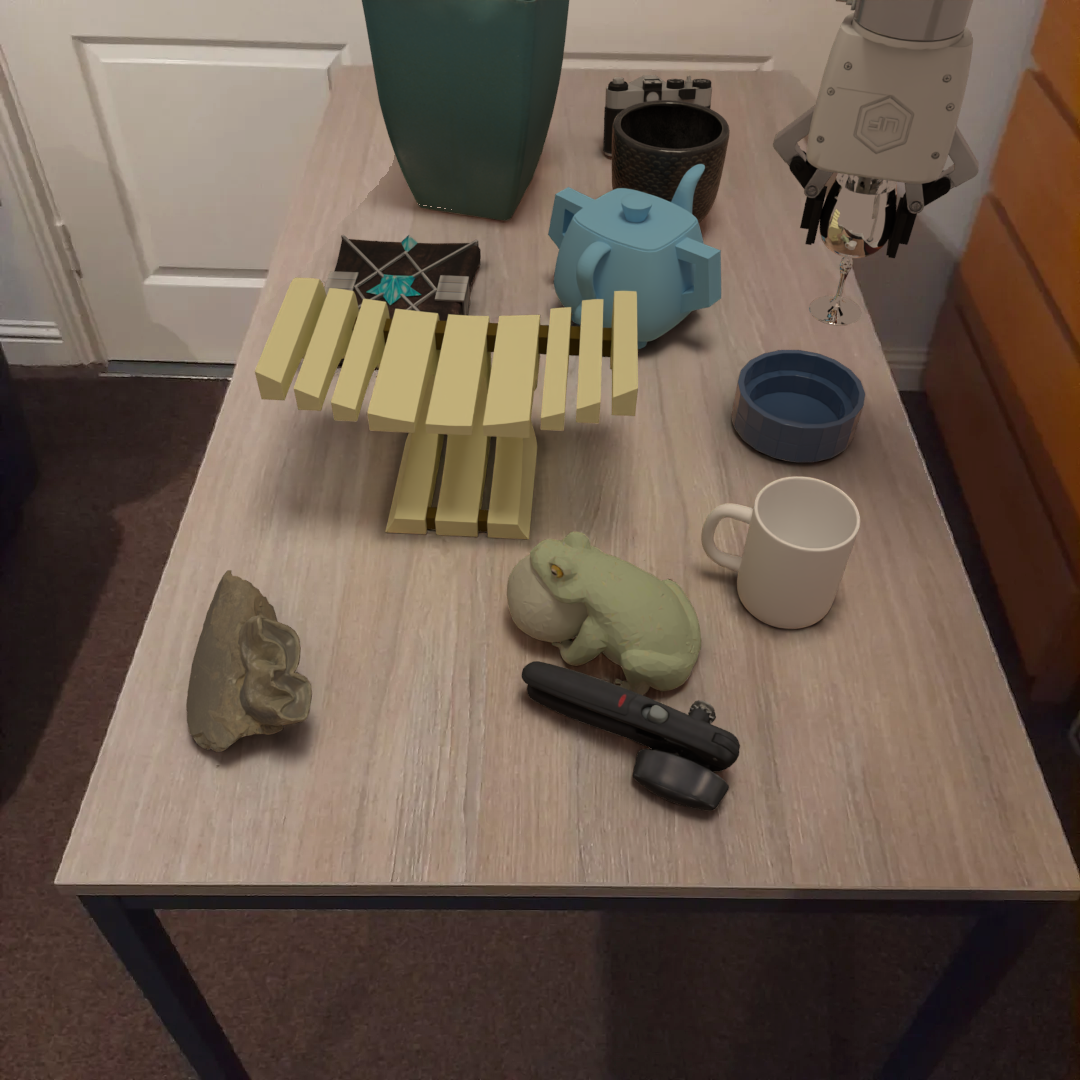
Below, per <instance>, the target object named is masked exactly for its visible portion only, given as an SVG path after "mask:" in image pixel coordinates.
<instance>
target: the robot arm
mask: <svg viewBox="0 0 1080 1080" xmlns="http://www.w3.org/2000/svg"><path fill="white" fill-rule="evenodd" d="M835 2H839V3H845V5H846V6H850V11H854V12H851V13H849V14H847V16H845V17H844V19H843V21H842V22H841V24H840V26H839V28H838V30H837V33H836V35H835V37H834V40H833V43H832V45H831V48H830V50H829V54H828V58H827V61H826V64H825V67H824V70H823V74H822V76H821V77H822V78H821V81H820V86H819V89H818V93H817V97H816V100H815V104H814V105H813V106H811V107H810V108H808V109H807V110H806V111H805V112H803V113H802V114H801V115H800V116H798V117H797V118H796V119H794V120H793V121H792V122H790V123H788V125H786V126H785V127H783V128H782V129H781V130H780V131H778V132H777V133H776V134H775V136H774V139H773V143H772V147H773V149H774V150H775V151H776V153H777V154H778V155H779V157H780V158H781V159H782V160H783V162H784V163H785V164H786V165H787V166H788V167H789V171H790V173H791V174H792V175H793V177H795V179H796V181H797V182H798V183H799V185H800V186H801V187H802V188H803V194H804V195H805V197H806V199H805V203H804V207H803V212H802V217H801V220H800V221H801V222H800V225H799V229H803V230H807V234H806V239H805V243H804V244H805V245H808V246H812V245H815V243H816V238H817V234H818V229H819V226H820V217H821V213H822V208H823V205H824V202H825V200H826V196H827V190H828V186H827V183H828V181H829V180H830V178H831V177H832V176H833V174H834V173H835V174H838V173H841V174H847V175H854V176H861V177H867V178H874V179H881V180H888V181H896V182H897V183H904V190H905V192H904V193H903V195H902V196H900V197H899V201H898V202H897V208H896V215H895V222H894V225H893V229H892V232H891V234H890V237H889V239H888V240H887V247H886V254H885V255H886V256H888V258H890V259H896V257H897V253H898V250H899V247H900V245H905V246H907V245H908V244H909V242H910V238H911V235H912V231H913V228H914V225H915V222H916V219H917V215H918V214H920V213H921V212H922V211H923V210H924V208H925V207H926V206H928V205H929V204H931V203H933V202H935V201H936V200H938V199H940V198H941V197H943V196H945V195H947V194H948V193H949V192H950V190H952V189H953V188H957V187H959V186H961V185H963V184H964V183H966V182H968V181H970V180H972V179H973V178H975V177H977V175H978V174H979V167H980V166H979V164H980V163H979V160H978V159H977V157H976V155H975V154H974V151H973V150H972V148H971V147H970V145H969V143H968V142H967V140H966V138H965V137H964V135H963V134H962V131H961V130H960V129H959V127H958V121H959V117H960V114H961V111H962V105H963V102H964V98H965V94H966V88H967V85H968V80H969V76H970V75H969V74H970V70H971V62H972V58H973V47H974V38H973V34H972V31H971V29H970V28H969V27H967V22H968V19H969V17H970V13H971V10H972V6H973V2H974V0H835ZM806 137H807V142H806V151H804V150H803V149H802V148H801V146H800V145H799V143H798V142H800V141H802V139H804V138H806ZM948 156H949V158H950V160H951V161H952V165H950V166H949V167H947V169H944V168H945V165H946V163H947V160H948Z"/></svg>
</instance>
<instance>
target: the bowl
mask: <svg viewBox="0 0 1080 1080" xmlns="http://www.w3.org/2000/svg"><path fill="white" fill-rule="evenodd" d="M734 393H735V394H734V399H733V404H732V409H731V410H732V411H731V415H730V416H731V420H732V425H733V428H734V430H735V431H736V432H737V434H738V435H739V437H740V438H741V439H742V441H744V442H745V443H746V444H748V445H749V446H750V447H752V448H753V449H754V450H755V451H757V452H758V453H759V452H760V453H762V454H764V455H767V456H769V457H771V458H774V459H776V460H782V461H786V462H791V463H817V462H820V461H825V460H830V459H832V458H834V457H836V456H837V455H839V454H841V453H843V452H844V451H846V450H847V448H848V447H849V446H850V445H851V443H852V442H853V440H854V438H855V434H856V431H857V429H858V425H859V422H860V420H861V416H862V412H863V410H864V406H865V399H866V392H865V388H864V386H863V384H862V380H860V378H859V377H858V376H857V375H856V374H855V373H854V371H853V370H851V369H850V368H849V367H848V366H846V365H844V364H843V363H842V362H840V361H838V360H836V359H835V358H832V357H829V356H827V355H824V354H821V353H818V352H813V351H808V350H802V349H777V350H773V351H769V352H768V351H767V352H764V353H762V354H760V355H758V356H755V357H753V358H752V359H750V360H749V361H748V362H747V363H746V364H745V365H744V366H743V367H742V368H741V369H740V372H739V375H738V380H737V383H736V389H735V392H734Z"/></svg>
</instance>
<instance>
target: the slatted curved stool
mask: <svg viewBox="0 0 1080 1080" xmlns="http://www.w3.org/2000/svg"><path fill="white" fill-rule="evenodd" d="M324 287H325V285H324V284H323V282H322V280H321V279H320V278H313V277H294V278H293V279H292V280H291V282H290V283H289V286H288V289H287V291H286V293H285V296H284V299H283V301H282V303H281V306H280V308H279V311H278V313H277V316H276V317H275V320H274V323H273V325H272V328H271V330H270V333H269V335H268V338H267V340H266V342H265V345H264V348H263V350H262V352H261V354H260V357H259V360H258V362H257V364H256V366H255V369H254V375H255V378H256V382H257V387H258V390H259V391H258V392H259V394H260V399H261V400H264V401H265V400H267V401H286V398H287V395H288V392H289V390H290V387H291V385H292V382H293V380H294V377H295V375H296V373H297V371H298V368H299V366H300V364H301V366H300V369H299V372H298V375H297V377H296V380H295V383H294V386H293V393H294V397H295V403H296V406H297V410H298V411H310V412H313V411H314V412H321V411H322V410H323V407H324V403H325V401H326V397H327V395H328V392H329V388H330V387H331V383H332V381H333V379H334V377H335V374H336V370H337V369H338V366H339V364H340V363H339V362H340V361H341V359H344V362H343V363H342V366H341V369H340V372H339V375H338V378H337V382H336V385H335V388H334V391H333V394H332V397H331V401H330V405H331V410H332V415H333V420H334V421H335V422H337V421H339V422H358V419H359V416H360V413H361V409H362V406H363V403H364V399H365V396H366V394H367V390H368V388H369V385H370V382H371V379H372V377H373V373H374V371H375V369H376V368H378V371H377V374H376V378H375V383H374V385H373V389H372V393H371V397H370V401H369V404H368V408H367V412H366V414H367V421H368V422H367V423H368V428H369V431H370V432H388V433H389V432H391V433H408V434H407V437H406V440H405V442H404V447H403V452H402V456H401V462H400V464H399V468H398V474H397V478H396V483H395V487H394V492H393V496H392V499H391V501H392V502H391V505H390V508H389V509H390V510H389V514H388V519H387V523H386V527H385V532H384V533H391V534H392V533H393V534H413V535H427V532H428V530H435V534H436V536H450V537H451V536H452V537H472V538H473V537H475V538H478V536H479V535H478V534H479V533H487V538H489V539H491V538H493V539H511V540H512V539H514V540H530V534H531V533H530V532H531V521H532V509H533V500H534V499H533V498H534V487H535V477H536V465H537V457H538V456H537V454H538V442H537V437H536V436H537V435H536V433H535V429H534V427H533V422H532V414H533V404H534V397H535V391H536V390H537V389H538V385H539V384H538V382H539V372H540V364H541V363H540V362H541V355H545V367H544V379H543V389H542V399H541V400H542V401H541V410H540V411H541V412H540V430H541V431H559V432H560V431H561V432H564V431H565V417H566V403H567V388H568V375H569V365H570V356H573V357H578V373H577V388H576V389H577V390H576V407H575V414H576V415H575V423H577V424H597V425H598V424H600V418H601V417H600V415H601V401H602V364H603V363H602V362H603V358H609V370H611V416H622V417H625V416H626V417H636V414H637V413H636V411H637V403H638V393H639V361H638V360H639V358H638V357H639V356H638V354H639V353H638V352H639V349H638V346H637V292H636V291H614V299H613V312H612V325H611V328H603V299H592V300H583V301H582V312H581V325H579V326H578V325H577V326H575V325H572V319H571V317H572V313H571V307H554V308H553V307H552V308H550V309H549V310H550V311H549V322H548V324H541V314H518V315H499V316H498V322H490V321H491V320H490V315H468V316H467V315H451V314H448V319H447V321H440V320H439V315H438V313H430V312H421V311H412V310H403V309H395V312H394V316H393V319H390V317H389V311H388V306H387V303H386V302H383V301H377V300H370V299H363V302H362V305H361V308H360V311H359V309H358V303H357V299H356V295H355V293H354V291H350V290H344V289H337V288H329V291H328V294H327V296H326V292H325V288H324ZM492 353H493V355H492ZM302 360H303V361H302ZM301 361H302V363H301ZM445 435H447V439H446V448H445V456H444V463H443V464H444V465H443V469H442V470H443V471H442V477H441V484H440V490H439V496H438V501H437V506H435V507H434V506H432V505H433V500H434V495H435V490H436V483H437V478H438V473H439V469H440V463H441V455H442V452H443V446H444V442H445V441H444V440H445ZM492 437H495V438H496V441H495V453H494V461H493V462H494V464H493V471H492V472H493V473H492V481H491V489H490V498H489V506H488V509H482V507H483V500H484V492H485V485H486V479H487V471H488V464H489V457H490V448H491V442H492Z"/></svg>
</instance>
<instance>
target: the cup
mask: <svg viewBox="0 0 1080 1080" xmlns="http://www.w3.org/2000/svg"><path fill="white" fill-rule="evenodd" d="M724 518H729V519H734V520H736V521H739V522H742V523H745V524H747V525H748V529H747V532H746V537H745V543H744V546H743V550H742V554H741V556H740V555H735V554H730V553H728V552H725V551H723V550H721V549H720V548H719V547H718V546H717V545H716V542H715V532H716V529H717V527H718V525H719V523H720V522H721V521H722V520H723V519H724ZM860 527H861V515H860V511H859V509H858V507H857V505H856V503H855V502H854V501H853V499H852V498H851V497H850V496H849V494H847V493H846V492H844V491H843V490H842V489H841V488H839V487H838V486H836V485H834V484H832V483H830V482H828V481H824V480H822V479H820V478H819V479H818V478H815V477H810V476H796V475H795V476H785V477H781V478H778V479H775V480H773V481H771V482H769V483H767V484H765V486H763V487H762V488H761V489H760V490H759V492H758V493H757V494H756V496H755V499H754V503H753V507H750V506H747V505H742V504H739V503H733V502H732V503H731V502H728V503H727V502H725V503H721V504H719V505H717V506H716V507H714V508H713V509H712V510H711V511H710V512H709V513H708V515H707V516H706V518H705V520H704V523H703V525H702V529H701V535H700V536H701V537H700V538H701V547H702V549H703V551H704V553H705V554H706V556H707V557H708V558H709V559H710V560H711V561H712V562H714V564H716V565H718V566H720V567H721V568H725V569H728V570H731V571H733V572H737V577H736V591H737V594H738V597H739V599H740V602H741V603H742V605H743V606H744V608H745V609H746V611H748V612H749V613H750V614H751V615H752V616H753V617H754V618H756V619H757V620H758V621H760V622H761V623H764V624H766V625H769V626H771V627H775V628H778V629H785V630H797V629H798V630H799V629H804V628H807V627H810V626H813V625H815V624H816V623H818V622H820V621H821V620H822V619H824V617H826V615H827V614H828V613H829V612H830V610H831V608H832V606H833V604H834V601H835V599H836V596H837V594H838V590H839V588H840V584H841V582H842V579H843V576H844V573H845V570H846V568H847V564H848V562H849V559H850V556H851V553H852V551H853V547H854V545H855V542H856V538H857V536H858V534H859V530H860Z"/></svg>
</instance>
